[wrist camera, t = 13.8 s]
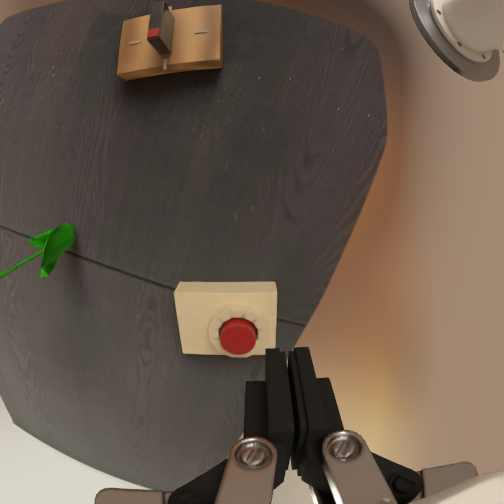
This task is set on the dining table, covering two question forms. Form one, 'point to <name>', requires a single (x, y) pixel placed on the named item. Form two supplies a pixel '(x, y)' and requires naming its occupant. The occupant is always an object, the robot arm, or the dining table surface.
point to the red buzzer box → (224, 314)
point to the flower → (50, 247)
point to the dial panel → (173, 44)
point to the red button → (238, 336)
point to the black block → (161, 28)
